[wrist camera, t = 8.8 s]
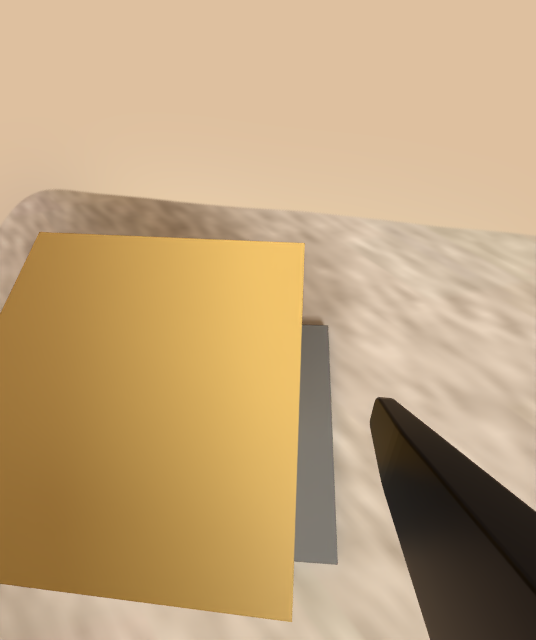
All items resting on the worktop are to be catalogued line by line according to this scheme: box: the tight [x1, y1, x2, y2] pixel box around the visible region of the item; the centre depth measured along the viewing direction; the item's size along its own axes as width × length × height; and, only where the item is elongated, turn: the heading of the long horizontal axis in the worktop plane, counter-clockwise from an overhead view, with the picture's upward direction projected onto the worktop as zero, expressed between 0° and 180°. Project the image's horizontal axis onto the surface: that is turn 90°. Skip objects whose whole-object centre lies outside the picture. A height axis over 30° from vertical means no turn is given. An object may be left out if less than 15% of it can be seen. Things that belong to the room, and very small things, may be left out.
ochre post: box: [0, 232, 305, 622], centre depth 9 cm, size 4×4×12 cm
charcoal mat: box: [294, 325, 338, 565], centre depth 15 cm, size 12×12×1 cm
